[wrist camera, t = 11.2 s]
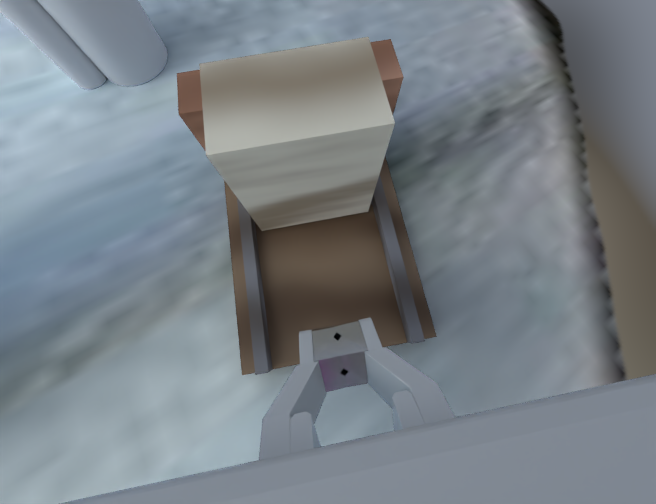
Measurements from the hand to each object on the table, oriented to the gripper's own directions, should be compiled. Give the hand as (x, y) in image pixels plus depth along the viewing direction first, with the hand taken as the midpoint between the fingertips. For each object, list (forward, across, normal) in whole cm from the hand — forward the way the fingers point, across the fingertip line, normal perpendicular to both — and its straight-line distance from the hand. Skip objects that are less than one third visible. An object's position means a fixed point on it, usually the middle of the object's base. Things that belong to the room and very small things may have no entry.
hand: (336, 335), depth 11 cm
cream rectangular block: (+12, 0, -3) cm, 13 cm away
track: (+11, 0, +1) cm, 11 cm away
